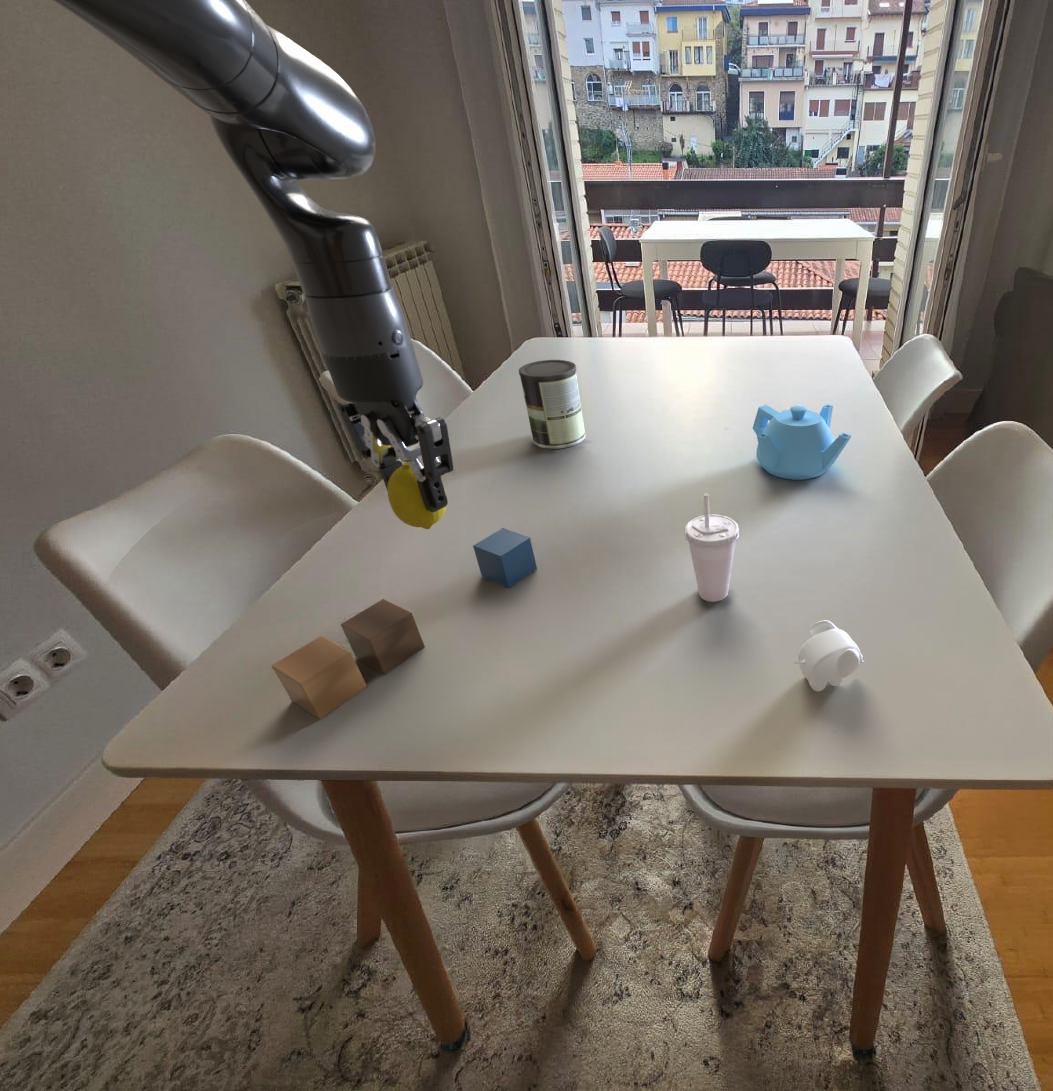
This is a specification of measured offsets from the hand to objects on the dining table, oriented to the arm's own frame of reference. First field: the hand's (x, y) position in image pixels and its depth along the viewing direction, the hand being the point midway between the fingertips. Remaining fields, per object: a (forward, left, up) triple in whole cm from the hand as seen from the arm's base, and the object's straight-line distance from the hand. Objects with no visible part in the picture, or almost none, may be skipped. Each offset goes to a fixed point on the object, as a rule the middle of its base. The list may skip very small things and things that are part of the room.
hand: (419, 501), depth 65 cm
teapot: (+57, -20, -15) cm, 63 cm away
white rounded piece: (+11, -44, -15) cm, 48 cm away
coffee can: (+46, +26, -15) cm, 55 cm away
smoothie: (+18, -26, -15) cm, 35 cm away
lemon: (0, 0, -4) cm, 4 cm away
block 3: (+9, 0, -15) cm, 18 cm away
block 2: (-9, 0, -15) cm, 17 cm away
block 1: (-16, 0, -15) cm, 22 cm away
